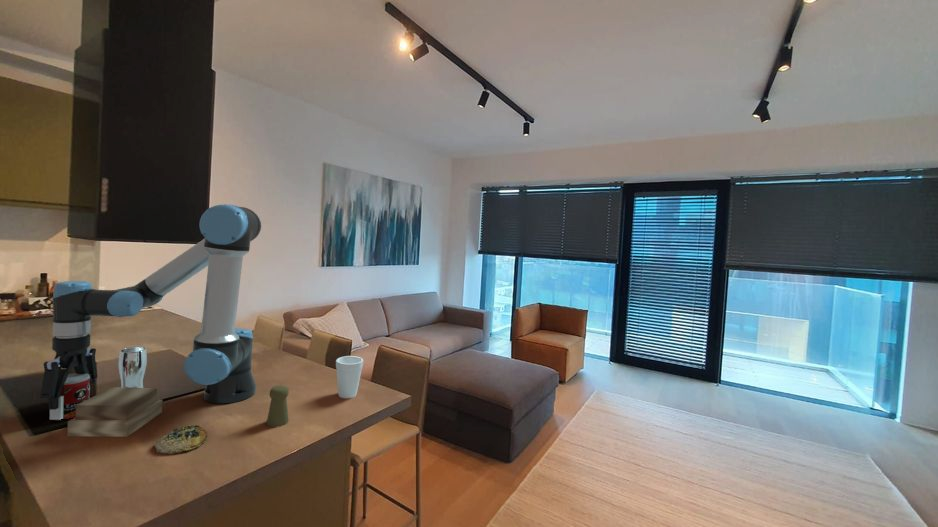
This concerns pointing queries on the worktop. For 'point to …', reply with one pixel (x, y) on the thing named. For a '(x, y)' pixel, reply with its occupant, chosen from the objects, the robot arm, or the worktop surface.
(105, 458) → the worktop surface
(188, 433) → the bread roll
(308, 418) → the worktop surface
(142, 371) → the beer glass
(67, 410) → the canned food
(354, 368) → the foam cup
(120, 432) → the stack of wooden planks
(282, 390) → the green pawn
